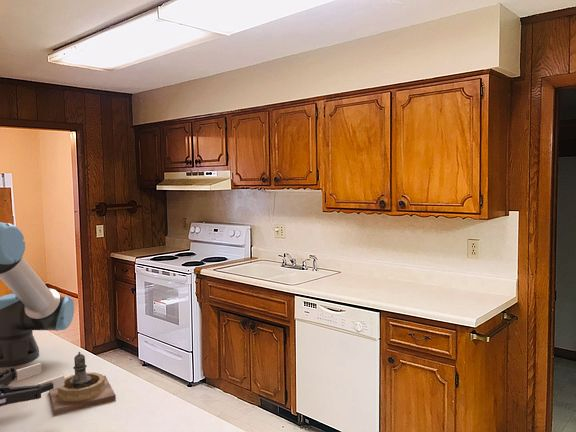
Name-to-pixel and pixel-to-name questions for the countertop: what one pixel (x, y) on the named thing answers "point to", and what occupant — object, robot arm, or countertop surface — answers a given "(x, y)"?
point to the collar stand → (81, 394)
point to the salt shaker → (80, 373)
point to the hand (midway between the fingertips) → (51, 373)
